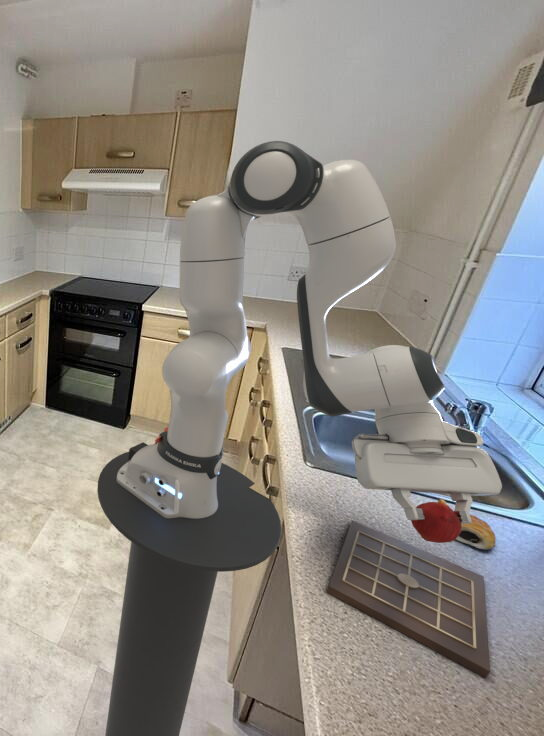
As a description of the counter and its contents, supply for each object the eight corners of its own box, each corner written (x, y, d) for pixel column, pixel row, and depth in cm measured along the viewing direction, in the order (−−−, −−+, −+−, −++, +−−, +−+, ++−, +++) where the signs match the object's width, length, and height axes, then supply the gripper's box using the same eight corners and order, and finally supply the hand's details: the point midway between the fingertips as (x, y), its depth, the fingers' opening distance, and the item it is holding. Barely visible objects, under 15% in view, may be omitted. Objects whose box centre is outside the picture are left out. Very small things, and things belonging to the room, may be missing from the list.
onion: (455, 544, 67) (475, 504, 64) (445, 560, 64) (465, 519, 61) (410, 522, 72) (426, 484, 69) (399, 536, 69) (415, 497, 66)
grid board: (327, 592, 70) (329, 585, 70) (349, 525, 85) (352, 519, 85) (485, 678, 58) (490, 670, 57) (480, 582, 73) (484, 575, 72)
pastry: (450, 515, 89) (457, 500, 87) (496, 534, 84) (504, 519, 82) (442, 535, 83) (449, 520, 82) (490, 557, 78) (499, 541, 77)
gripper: (361, 428, 69) (385, 516, 64) (491, 435, 68) (528, 525, 62) (338, 437, 75) (358, 518, 69) (457, 443, 74) (488, 527, 68)
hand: (439, 521), depth 66 cm, fingers closed on onion, 5 cm apart
